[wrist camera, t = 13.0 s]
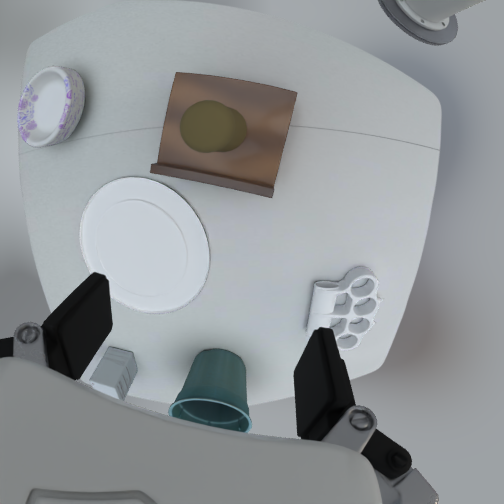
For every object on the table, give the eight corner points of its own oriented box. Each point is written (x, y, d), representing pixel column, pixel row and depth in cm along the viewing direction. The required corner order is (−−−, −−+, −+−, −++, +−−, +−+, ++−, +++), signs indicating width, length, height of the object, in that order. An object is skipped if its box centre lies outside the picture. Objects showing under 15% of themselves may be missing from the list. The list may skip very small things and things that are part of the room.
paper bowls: (102, 121, 39) (76, 122, 31) (50, 155, 41) (24, 161, 34) (88, 56, 33) (63, 49, 26) (37, 95, 35) (12, 94, 28)
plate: (134, 143, 40) (132, 143, 39) (243, 260, 48) (242, 262, 47) (63, 242, 49) (61, 244, 48) (150, 331, 56) (149, 333, 56)
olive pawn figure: (238, 158, 33) (225, 166, 23) (194, 145, 33) (163, 149, 23) (253, 114, 31) (246, 102, 21) (207, 101, 30) (181, 87, 20)
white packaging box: (115, 364, 63) (97, 397, 51) (109, 345, 60) (88, 379, 48) (138, 370, 63) (122, 406, 51) (133, 352, 60) (114, 388, 48)
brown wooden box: (192, 82, 36) (170, 68, 27) (292, 100, 37) (299, 89, 27) (174, 164, 42) (149, 172, 32) (270, 184, 42) (271, 198, 33)
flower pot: (229, 330, 55) (218, 391, 40) (268, 375, 60) (267, 432, 45) (172, 353, 59) (151, 406, 44) (213, 392, 64) (203, 443, 49)
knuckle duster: (315, 263, 47) (388, 267, 47) (302, 340, 55) (366, 339, 54) (319, 272, 44) (395, 275, 44) (303, 351, 52) (370, 350, 51)
